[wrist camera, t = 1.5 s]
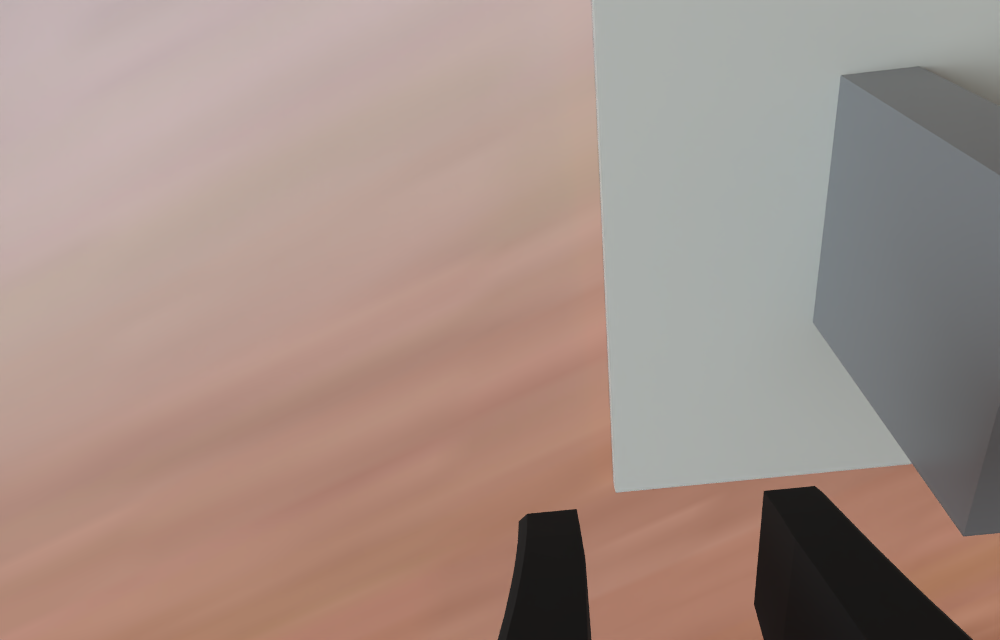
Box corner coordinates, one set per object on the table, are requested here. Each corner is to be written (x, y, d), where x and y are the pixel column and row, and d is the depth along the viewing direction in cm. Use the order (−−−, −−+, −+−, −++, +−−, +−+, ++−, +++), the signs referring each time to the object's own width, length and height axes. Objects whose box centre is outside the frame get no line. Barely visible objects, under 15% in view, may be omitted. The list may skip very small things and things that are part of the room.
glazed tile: (812, 322, 19) (963, 536, 13) (840, 75, 16) (1052, 208, 10) (895, 313, 19) (1083, 524, 13) (938, 64, 16) (1210, 192, 10)
